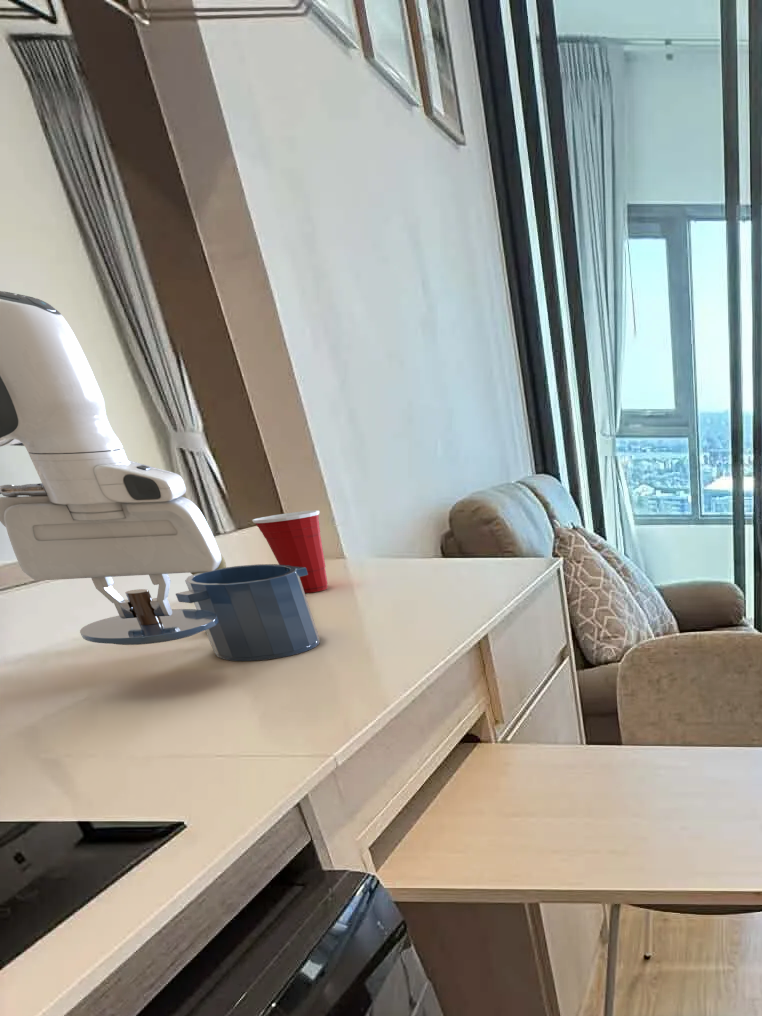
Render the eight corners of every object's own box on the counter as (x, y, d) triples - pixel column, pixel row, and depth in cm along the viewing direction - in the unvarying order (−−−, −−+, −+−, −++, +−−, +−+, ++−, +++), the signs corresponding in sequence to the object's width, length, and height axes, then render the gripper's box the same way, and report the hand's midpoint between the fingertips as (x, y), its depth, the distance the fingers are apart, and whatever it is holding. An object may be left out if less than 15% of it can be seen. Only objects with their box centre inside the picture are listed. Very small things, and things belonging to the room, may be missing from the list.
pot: (176, 660, 116) (143, 584, 110) (288, 627, 130) (264, 558, 124) (245, 670, 112) (215, 592, 106) (354, 635, 125) (332, 564, 119)
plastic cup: (308, 582, 157) (284, 507, 149) (355, 585, 154) (332, 508, 146) (263, 594, 149) (235, 516, 141) (311, 598, 146) (285, 518, 138)
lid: (57, 641, 101) (35, 598, 98) (169, 614, 111) (152, 575, 108) (138, 654, 96) (118, 610, 93) (247, 625, 106) (232, 584, 103)
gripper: (-31, 488, 89) (40, 628, 98) (182, 481, 93) (232, 616, 102) (-6, 482, 94) (60, 616, 103) (196, 475, 98) (243, 605, 107)
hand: (147, 616), depth 102 cm, fingers closed on lid, 2 cm apart
